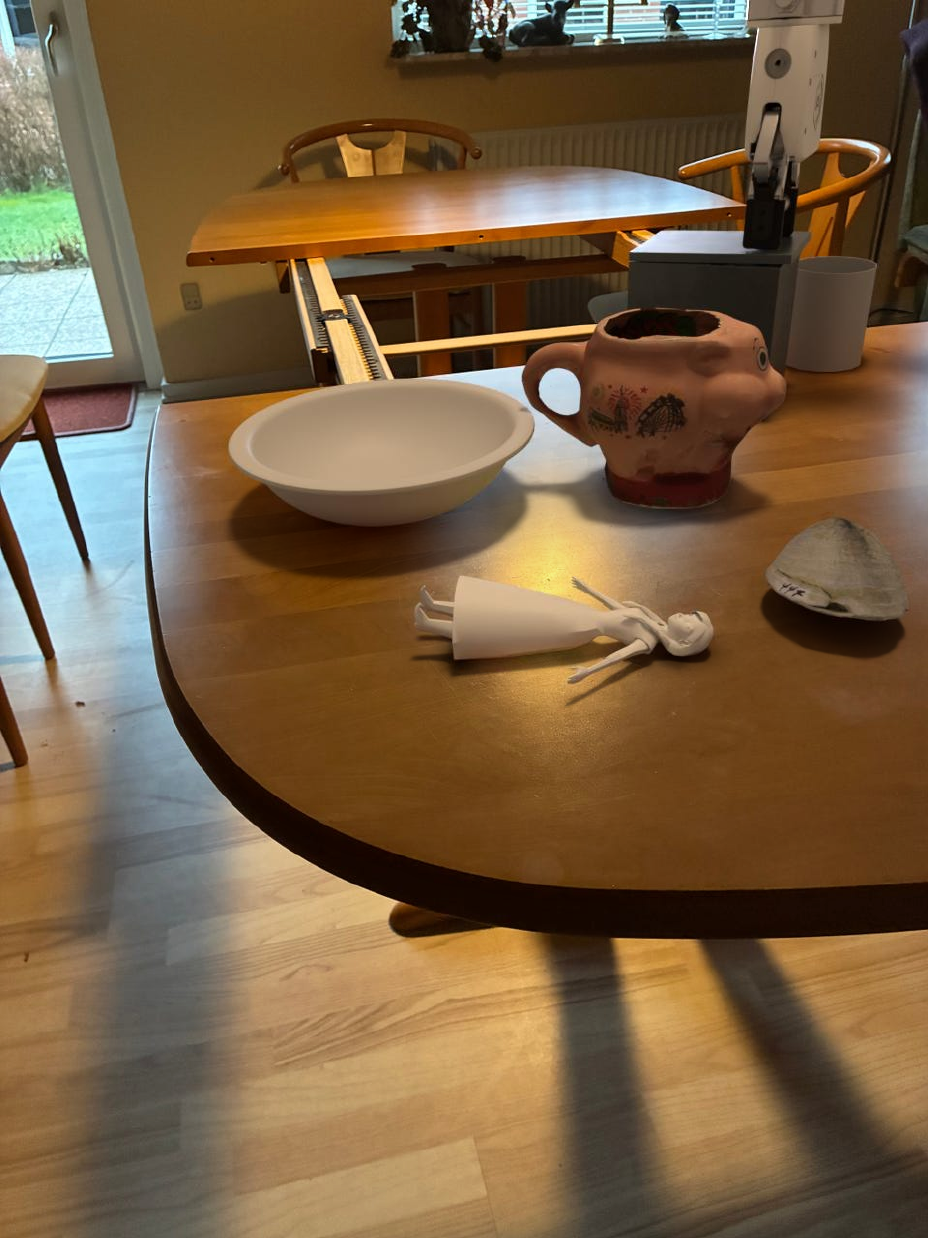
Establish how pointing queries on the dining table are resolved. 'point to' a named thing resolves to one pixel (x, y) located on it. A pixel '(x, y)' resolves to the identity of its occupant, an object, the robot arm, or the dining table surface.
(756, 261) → the bin lid
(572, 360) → the decorative planter
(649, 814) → the dining table surface
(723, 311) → the bin
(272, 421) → the soup bowl
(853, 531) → the seashell
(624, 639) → the woman figurine
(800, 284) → the cup
